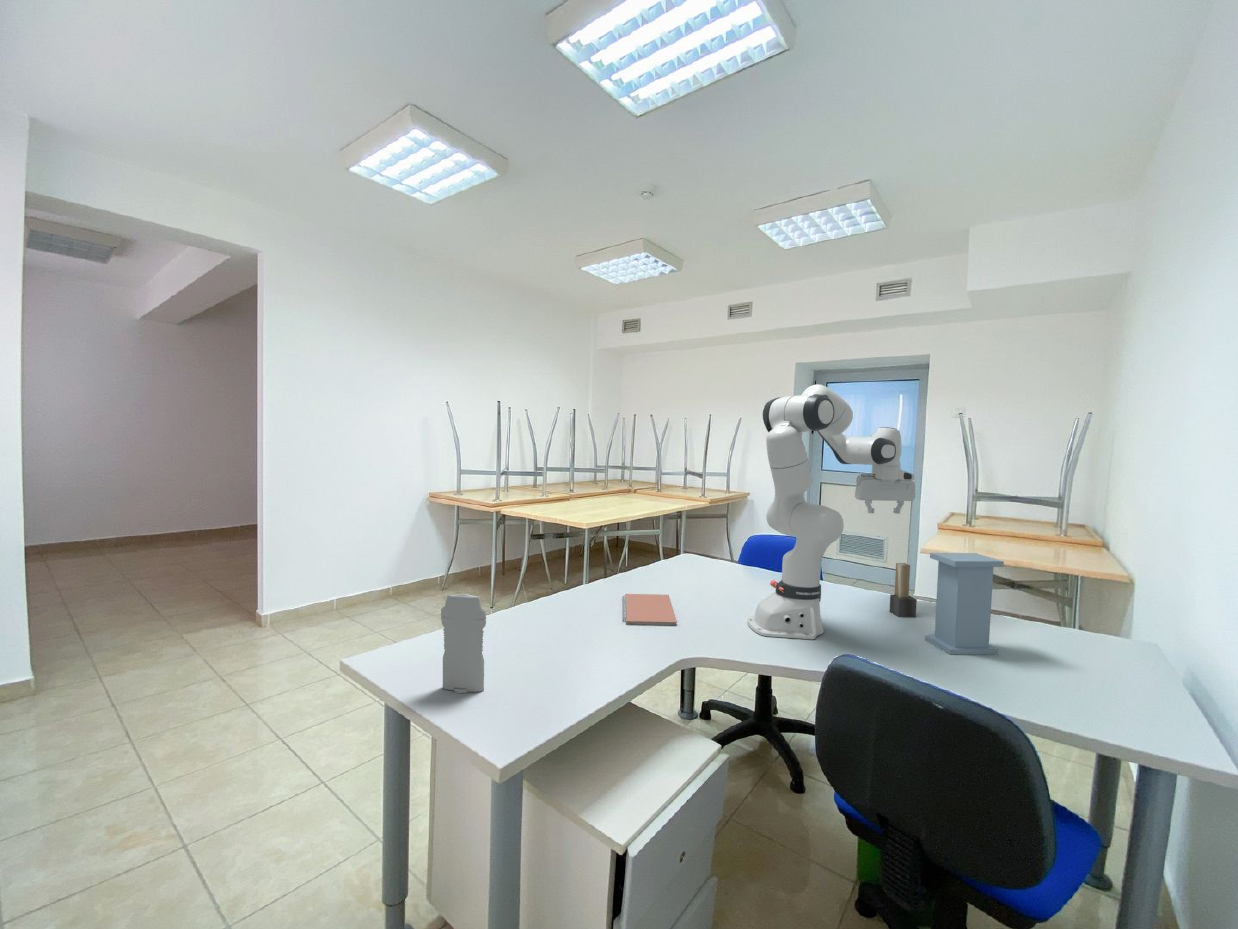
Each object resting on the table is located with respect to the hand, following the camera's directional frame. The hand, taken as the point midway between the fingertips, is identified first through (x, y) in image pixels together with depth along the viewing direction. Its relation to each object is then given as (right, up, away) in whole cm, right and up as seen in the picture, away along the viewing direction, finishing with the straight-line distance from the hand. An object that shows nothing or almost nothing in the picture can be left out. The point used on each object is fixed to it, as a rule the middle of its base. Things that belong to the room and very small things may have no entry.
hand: (883, 513), depth 176 cm
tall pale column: (-128, -34, -62) cm, 147 cm away
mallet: (+3, -25, -4) cm, 26 cm away
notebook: (-83, -33, -8) cm, 90 cm away
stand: (+5, -35, -33) cm, 48 cm away
